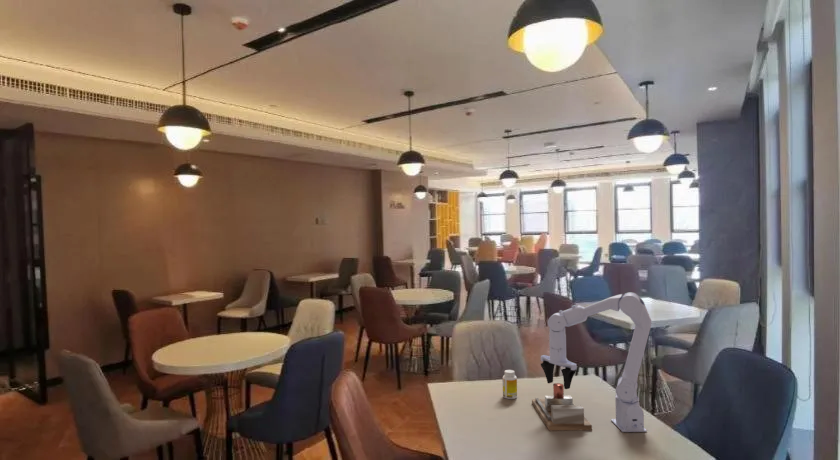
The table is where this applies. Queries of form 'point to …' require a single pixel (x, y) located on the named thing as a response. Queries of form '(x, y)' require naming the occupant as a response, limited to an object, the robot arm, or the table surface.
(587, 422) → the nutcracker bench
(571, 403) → the sliding jaw
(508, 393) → the supplement bottle
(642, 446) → the table surface
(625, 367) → the robot arm
